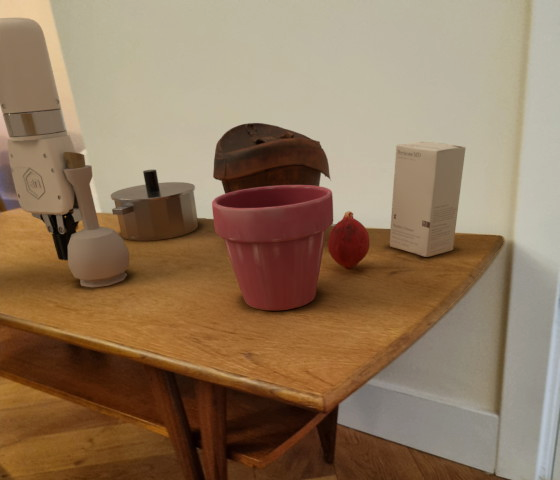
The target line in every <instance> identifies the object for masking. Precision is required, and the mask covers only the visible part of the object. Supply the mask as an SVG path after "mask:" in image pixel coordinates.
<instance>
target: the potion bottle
mask: <svg viewBox="0 0 560 480" xmlns="http://www.w3.org/2000/svg"><path fill="white" fill-rule="evenodd" d="M63 154H64V157H65V160H66V163H67V166H68V168H66V169H63V170H64V173H65V175H66V178H67V180H68V181H69V182H70V183H71V184H72V185H73V186H74V190H75V194H76V198H77V202H78V206H79V210H80V214H81V218H82V220H81V221H82V222H81V223H82V226H83V229H81V230H79V231H76V233H74V234H72V235H71V238H70V241H69V244H68V261H67V266H68V268H69V270H70V272H71V273H72V275H73V277H74V279H78V280H79V282H80V286H81V287H85V288H100V287H107V286H108V287H109V286H111V285H116V284H117V283H120V282H123V281H124V280H125V279H126V278H127V276H128V274H127V273H126V270H127V269H128V268H129V267H130V251H129V249H128V247H127V245H126V242H125V240H124V238H122V236H121V235H120V234H119V233H118V232H117V231H116V230H115V229H113V228H110V227H106V226H105V227H104V226H100V223H99V218H98V214H97V210H96V205H95V201H94V197H93V193H92V189H91V185H90V184H91V182H92V178H93V168H92V165H90V164H86V159H85V154H83V153H79V152H76V153H74V152H64V153H63Z"/></svg>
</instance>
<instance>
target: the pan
mask: <svg viewBox="0 0 560 480" xmlns="http://www.w3.org/2000/svg"><path fill="white" fill-rule="evenodd" d="M194 191H195V190H194ZM194 191H193V192H191V193H188V194H186V195H182V196H179V197H174V198H169V199H163V200H156V201H146V202H119V201H114V200H113V201H114V202H113V203H114V206H115V207H113V208H111V212H112V215H117V220H118V221H117V222H118V226H119V230H120V234H121V235H120V236H121V238H122V237H123V238H122V239H125V240H130V241H137V242H139V241H140V242H147V241H162V240H167V239H172V238H173V239H174V238H177V237H181V236H185V235H187V234H190V233H192V232H194V231H196V230H197V229H198V227H199V220H198V214H197V205H196V198H195V192H194Z"/></svg>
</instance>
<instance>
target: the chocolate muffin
mask: <svg viewBox="0 0 560 480" xmlns="http://www.w3.org/2000/svg"><path fill="white" fill-rule="evenodd" d="M322 175H324V177H327V178H328V179H329V181H332V179H331V175H330V165H329V160H328V157H327V154H326V151H325V150H324V148H322V144H321V142H320V141H319V140H315V139H313V138H310V137H309V136H307V135H304V134H303V133H300V132H297V131H294V130H291V129H287V128H283V127H280V126H278V125H274V124H268V123H263V122H251V123H250V122H249V123H243V124H238V125H237V126H234V127H232V128H230V129H228V130H227V131H225V132H224V134H222V136H221V137H220V139H219V140H218V141H217V143H216V144H215V152H214V159H213V174H212V177H213V179H215V180H216V181H217V180H218V181H220V182H221V185H222V188H223V192H224V194H226V193H229V192H233V191H238V190H243V189H249V188H256V187H265V186H279V185H313V186H320V183H321V178H322V177H321V176H322Z"/></svg>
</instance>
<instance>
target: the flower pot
mask: <svg viewBox="0 0 560 480" xmlns="http://www.w3.org/2000/svg"><path fill="white" fill-rule="evenodd" d="M211 206H212V207H211V208H212V218H213V225H214V233H215V234H216V235H217V236H218V237H220V239H221V238H222V239H223V241H224V244H225V248H226V251H227V254H228V257H229V260H230V263H231V266H232V269H233V273H234V275H235V278H236V281H237V283H238V286H239V288H240V291H241V294H242V297H243V300H244V302H245V304H247V305H248V306H249V307H251V308H253V309H257V310H261V311H262V310H263V311H287V310H291V309H297V308H300V307H303V306H306V305H308V304H310V303H311V302H313V301H314V299H315V297H316V295H317V289H318V284H319V277H320V272H321V267H322V260H323V259H322V258H323V254H324V248H325V242H326V241H325V240H326V234H327V233H326V232H327V230H328V229H329V228H331V227H332V226H333V224H334V198H333V191H332V190H331V189H330V188H328V187H324V186H320V185H319V186H313V185H279V186H265V187H256V188H249V189H243V190H238V191H233V192H229V193H226V194H225V193H223V194H221V195H219V196H217V197H214V199H213V200H212V202H211Z"/></svg>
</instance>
